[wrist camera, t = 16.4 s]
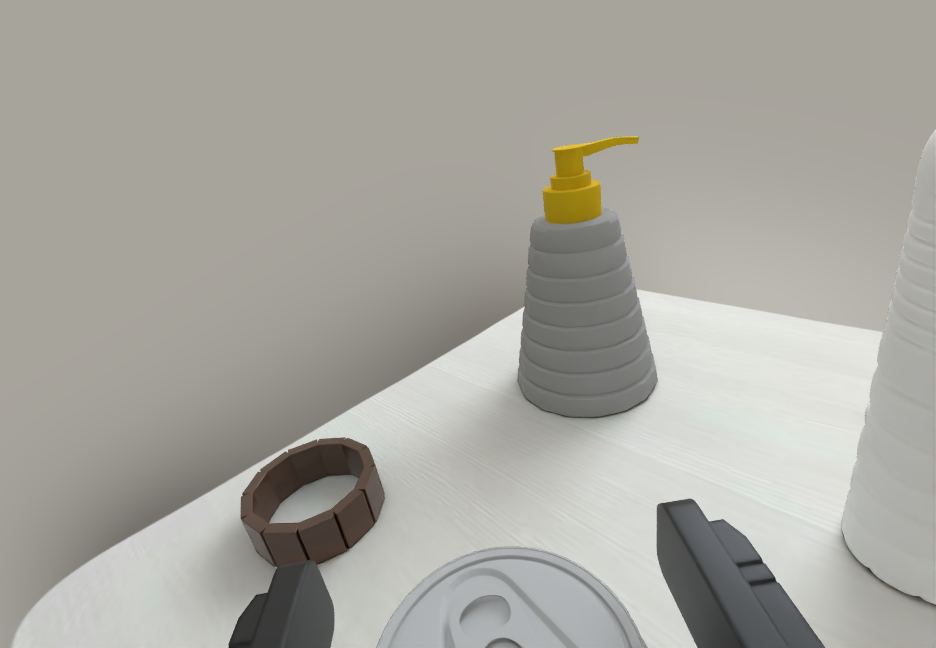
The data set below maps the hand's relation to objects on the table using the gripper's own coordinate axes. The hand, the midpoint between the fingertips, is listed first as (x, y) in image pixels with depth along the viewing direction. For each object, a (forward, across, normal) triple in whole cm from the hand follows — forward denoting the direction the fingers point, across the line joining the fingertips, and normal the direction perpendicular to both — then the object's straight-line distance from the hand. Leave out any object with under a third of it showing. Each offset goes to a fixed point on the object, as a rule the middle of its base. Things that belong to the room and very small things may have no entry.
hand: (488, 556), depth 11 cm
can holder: (+18, +12, +15) cm, 27 cm away
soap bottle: (+30, -10, +15) cm, 35 cm away
